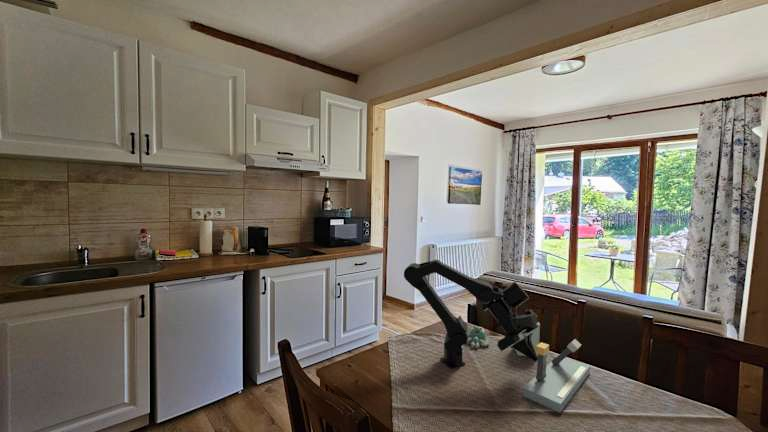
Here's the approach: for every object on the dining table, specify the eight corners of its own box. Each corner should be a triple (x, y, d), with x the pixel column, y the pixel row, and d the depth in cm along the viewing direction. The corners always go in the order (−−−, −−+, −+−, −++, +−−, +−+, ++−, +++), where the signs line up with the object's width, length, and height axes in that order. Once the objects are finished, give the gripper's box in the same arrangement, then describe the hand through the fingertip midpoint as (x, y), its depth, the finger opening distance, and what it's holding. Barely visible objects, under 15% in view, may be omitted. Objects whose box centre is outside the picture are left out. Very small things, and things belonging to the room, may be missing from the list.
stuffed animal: (460, 334, 124) (465, 318, 135) (460, 350, 126) (465, 333, 137) (489, 339, 120) (492, 322, 131) (489, 356, 122) (491, 338, 133)
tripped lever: (534, 380, 98) (536, 346, 97) (539, 375, 101) (541, 342, 100) (542, 383, 96) (544, 348, 95) (547, 378, 99) (549, 344, 98)
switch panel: (523, 396, 94) (523, 387, 94) (557, 361, 115) (557, 354, 115) (560, 412, 87) (560, 403, 87) (589, 373, 108) (590, 365, 108)
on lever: (549, 361, 108) (571, 342, 103) (553, 357, 111) (575, 338, 106) (555, 367, 106) (578, 348, 102) (559, 363, 109) (581, 344, 104)
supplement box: (538, 358, 118) (540, 324, 117) (517, 355, 119) (519, 322, 118) (533, 349, 125) (535, 317, 124) (513, 346, 126) (515, 315, 126)
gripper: (508, 309, 96) (546, 359, 88) (533, 297, 109) (567, 339, 101) (483, 327, 102) (516, 375, 94) (509, 313, 115) (540, 355, 107)
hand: (536, 360), depth 99 cm, fingers closed
